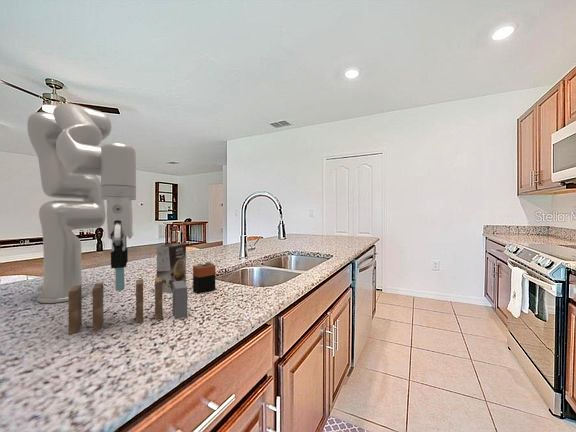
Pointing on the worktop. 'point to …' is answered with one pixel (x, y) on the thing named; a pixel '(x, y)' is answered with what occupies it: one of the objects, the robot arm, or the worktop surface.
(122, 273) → the domino
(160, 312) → the domino
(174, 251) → the coffee box
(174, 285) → the block
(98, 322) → the domino
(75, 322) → the domino
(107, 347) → the worktop surface
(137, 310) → the domino
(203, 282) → the battery
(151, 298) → the worktop surface
